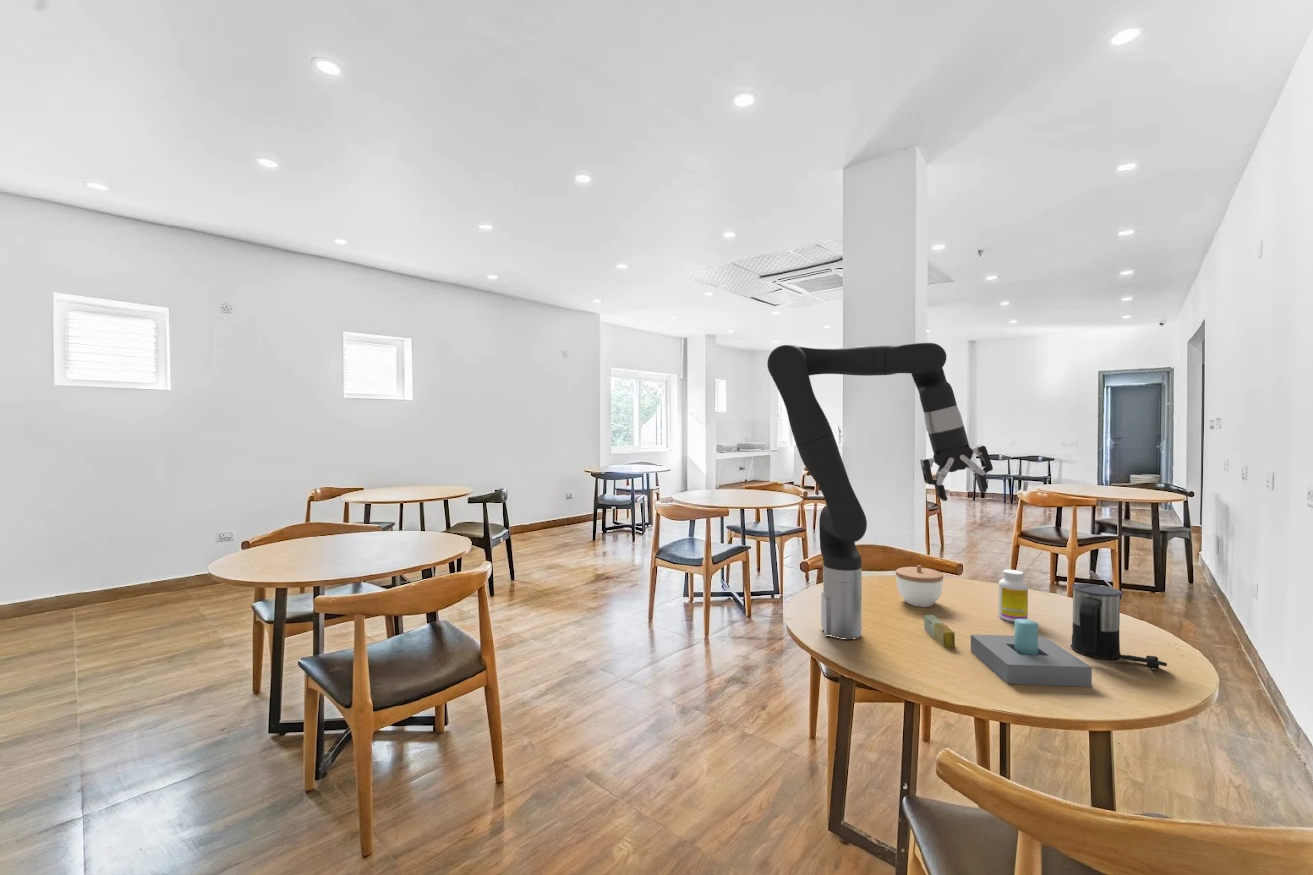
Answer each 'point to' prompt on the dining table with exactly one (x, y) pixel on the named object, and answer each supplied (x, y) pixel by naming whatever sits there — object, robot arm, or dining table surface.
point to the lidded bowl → (919, 585)
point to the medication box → (939, 631)
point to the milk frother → (1100, 624)
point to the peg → (1026, 637)
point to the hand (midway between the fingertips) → (963, 496)
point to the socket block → (1031, 662)
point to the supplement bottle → (1013, 596)
